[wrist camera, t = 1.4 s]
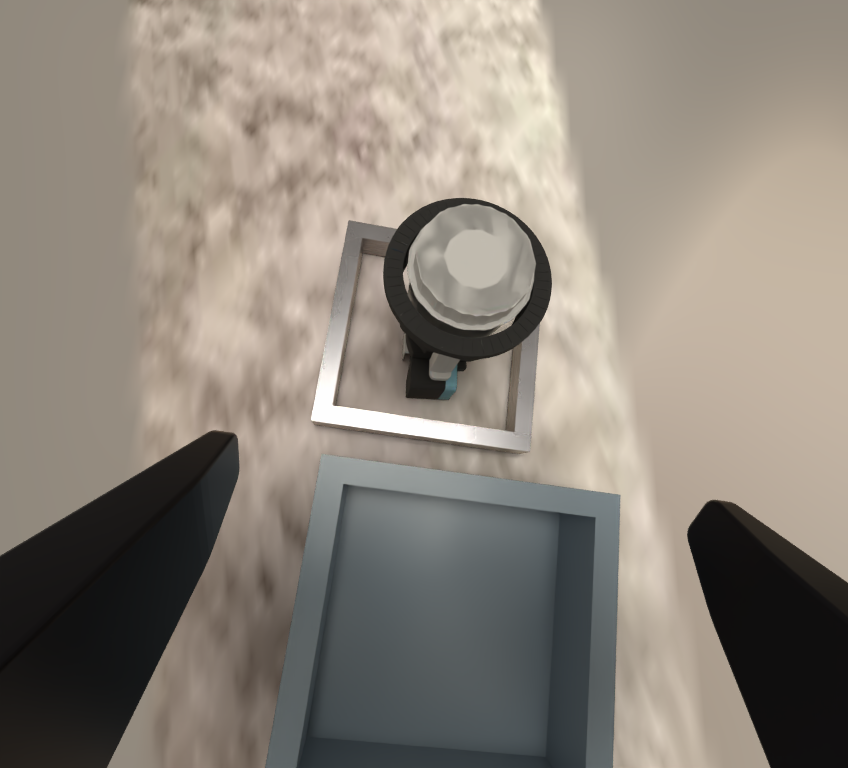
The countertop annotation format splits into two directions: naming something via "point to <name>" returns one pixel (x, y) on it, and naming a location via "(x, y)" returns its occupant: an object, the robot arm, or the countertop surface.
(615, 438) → the countertop surface
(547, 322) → the countertop surface
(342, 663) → the plastic bin
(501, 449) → the silver picture frame
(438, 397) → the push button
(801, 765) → the robot arm
